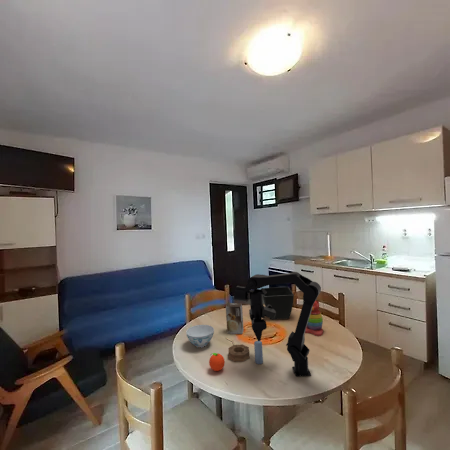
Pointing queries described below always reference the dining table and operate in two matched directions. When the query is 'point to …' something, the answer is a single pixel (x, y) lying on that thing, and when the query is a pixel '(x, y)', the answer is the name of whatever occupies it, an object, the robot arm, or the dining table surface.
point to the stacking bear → (315, 321)
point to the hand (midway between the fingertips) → (258, 336)
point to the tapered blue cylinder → (258, 352)
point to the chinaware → (200, 334)
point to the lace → (230, 340)
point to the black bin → (279, 301)
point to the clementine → (216, 362)
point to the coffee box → (234, 318)
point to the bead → (238, 353)
